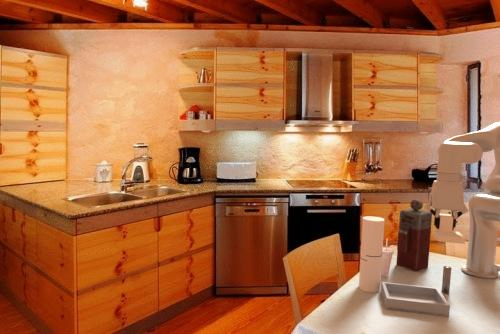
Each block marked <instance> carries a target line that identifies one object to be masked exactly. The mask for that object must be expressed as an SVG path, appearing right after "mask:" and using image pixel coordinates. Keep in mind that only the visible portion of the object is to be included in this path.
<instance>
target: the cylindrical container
mask: <svg viewBox="0 0 500 334" xmlns="http://www.w3.org/2000/svg"><path fill="white" fill-rule="evenodd" d="M361 225H362V227H361V228H362V229H361V241H360V243H361V245H360V258H359V259H360V263H359V279H358V280H359V281H358V288H359V289H360V290H361V291H364V292H366V293H367V292H368V293H378V292H381V282H382V275H381V267H382V252H383V247H384V232H385V218H383V217H380V216H370V215H367V216H363V217H362V223H361Z"/></svg>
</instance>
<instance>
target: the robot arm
mask: <svg viewBox="0 0 500 334" xmlns="http://www.w3.org/2000/svg"><path fill="white" fill-rule="evenodd" d="M491 151H493V153H494V160H495V161H494V163H495V164H494V167H493V169H492V171H491V172H490V174H489V176H488V177H487V180H486V181H485V183H484V185H483V192H484V193H478V194H474V195H472V196H471V197H470V199H469V201H468V207H467V205H466V204H465V201H464V199H465V196H464V195H465V194H464V183H463V182H462V181H463V180H466V177H467V176H466V175H463V173H462V172H463V171H462V169H463V164H464V165H465V164H467V165H472V164H473V165H474V164H476V163H478V162H479V161H480V160H481V159H482V157H483V155H484V153H488V152H491ZM437 157H438V158H437V168H436V169H437V170H436V171H437V172H436V180H433V183H432V185H431V190H430V191H431V192H430V197H429V201H428V202H427V203H426V204H425V206H424V208H425V210H426V211H429V212H431V213H432V216H434V217H433V218H434V221H433V226H434V227H435V228H436V230H437V229H439V226H440V218H439V214H441V211H451V216H453V228H452V231H454V229H456V227H457V220H458V218H460V217H461V216H462V215H464V214H467V213H468V212H469V213H468V214H469V230H468V242H467V251H466V262H465V263H466V264H462V265H461V267H460V269H461V270H462V271H463V272H464V273H465V274H467V275H469V276H472V277H476V278H482V279H497V278H499V272H500V264H497V263H496V252H497V244H498V233H499V232H498V228H497V225H496V223H495V222H498V223H500V121H498V122H494V123H493V124H490V125H488V126H487V127H485V128H483V129H479V130H478V131H473V132H469V133H465V134H464V133H463V134H461V135H456V136H453V137H451V138H448V139H446V140H445V141H443V142H441V143H440V144H439V147H438V148H437ZM496 277H497V278H496Z"/></svg>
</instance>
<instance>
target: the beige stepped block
mask: <svg viewBox="0 0 500 334" xmlns="http://www.w3.org/2000/svg"><path fill="white" fill-rule="evenodd" d="M439 218H440V226H439V229H437V228H436V229H433V232H432V236H433V237H434V238H435V240H436V241H437V242H440V243H452V244H462V245H465V244H466V243H465V242H466V237H465V236H464V235H463V234H462V233H461V232H460V231H456V230H455V231H454V230H452V228H453V216H452V214H450V213H448V214H447V213H440V214H439Z"/></svg>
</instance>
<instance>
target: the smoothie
mask: <svg viewBox="0 0 500 334" xmlns="http://www.w3.org/2000/svg"><path fill="white" fill-rule="evenodd" d="M388 243H389V239H388V238H386V240H385V246H383V252H382V267H381V276H388V275H389V273H390V268H391V265H392V259H393V254H394V249H393V248H390V247H388Z"/></svg>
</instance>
